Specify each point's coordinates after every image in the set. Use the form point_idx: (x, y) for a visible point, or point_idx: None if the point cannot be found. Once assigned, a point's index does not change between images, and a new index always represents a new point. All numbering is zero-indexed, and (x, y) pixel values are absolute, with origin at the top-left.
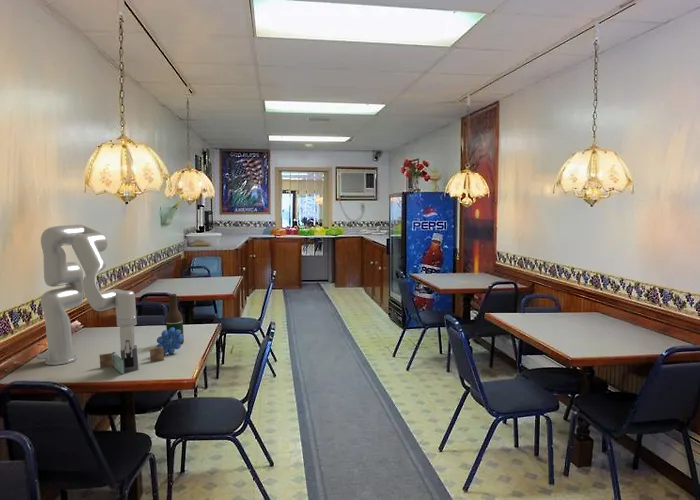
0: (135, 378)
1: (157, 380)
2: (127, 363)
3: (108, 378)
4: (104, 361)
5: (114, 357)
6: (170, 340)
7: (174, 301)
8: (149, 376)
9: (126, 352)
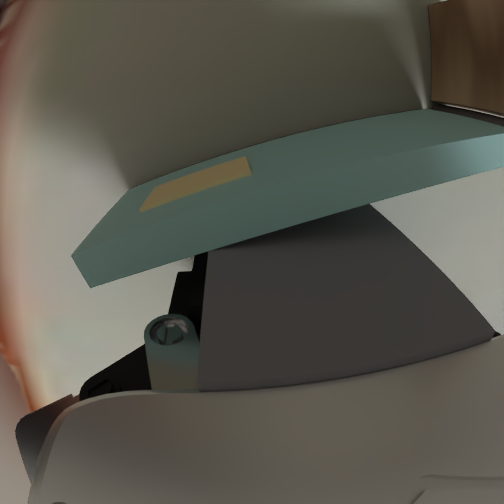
0: (32, 295)
1: (19, 374)
2: (176, 286)
3: (59, 90)
4: (468, 33)
5: (455, 130)
6: None
7: None
8: (65, 358)
9: (18, 423)
